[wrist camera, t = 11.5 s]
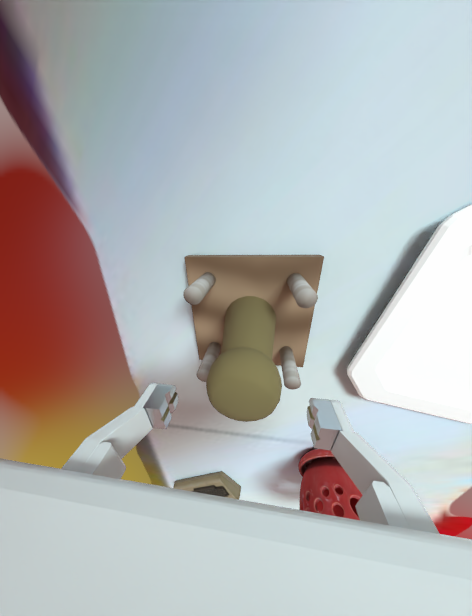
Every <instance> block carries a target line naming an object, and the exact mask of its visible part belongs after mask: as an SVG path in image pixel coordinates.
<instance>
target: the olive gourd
mask: <svg viewBox="0 0 472 616" xmlns="http://www.w3.org/2000/svg"><path fill="white" fill-rule="evenodd" d="M275 325H276V315H275V311H274V309H273V308H272V306H271V305H270V304H269V303H268V302H267V301H265V300H264V299H262V298H259V297H256V296H245V297H241V298H238V299H237V300H235V301H233V302H232V303H231V304H230V306H229V307H228V308H227V311H226V315H225V323H224V332H223V341H222V350H221V354H220V355H219V356H218V358H217V359H216V360H215V361H214V362H213V364H212V365H211V368H210V370H209V374H208V377H207V384H206V387H207V394H208V397H209V400H210V402H211V404H212V405H213V407H214V408H215V409H216V410H217V411H218V412H219V413H221V414H223V415H225V416H226V417H228V418H231V419H234V420H237V421H246V422H247V421H257V420H260V419H263V418H265V417H267V416H268V415H270V414H271V413H272V412H273V411H274V409H275V408H276V406H277V404H278V403H279V401H280V395H281V388H282V384H281V378H280V375H279V372H278V369H277V367H276V365H275V363H274V362H273V361H272V356H273V345H274V335H275Z"/></svg>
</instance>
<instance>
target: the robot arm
mask: <svg viewBox="0 0 472 616" xmlns="http://www.w3.org/2000/svg"><path fill="white" fill-rule="evenodd" d="M175 391H176V387H175V385H166V384H158V383H151V384H150V385H149V386H148V387H147V389H146V390H145V391H144V393H143V394H142V396H141V397H140V399H139V400H138V402H137V403H136V405H135V406H134V407H131V408H129V409H128V410H126V411H125V412H123V413H122V414H121V415H119V416H118V417H116V418H115V419H113V420H112V421H110V422H109V423H107V424H106V425H105V426H103V427H102V428H100V429H99V430H97V431H96V432H94V433H93V434H91V435H90V436H89V437H87V438H86V439H85V440H84V441H83V443H82V444H81V445H80V446H79V447H78V449H77V450H76V451H75V452H74V454H73V455H72V456H71V457H70V459H69V460H68V461H67V462H66V464H65V465H64V466H63V467H62V469H58V468H52V467H46V466H40V465H34V464H28V463H22V462H17V461H11V460H6V459H0V616H472V540H471V539H465V538H459V537H454V536H448V535H442V534H439V532H438V530H437V528H436V527H435V525H434V523H433V521H432V520H431V518H430V516H429V515H428V513H427V511H426V509H425V508H424V506H423V504H422V502H421V501H420V499H419V497H418V495H417V494H416V492H415V490H414V488H413V487H412V485H411V484H410V483H409V482H408V481H407V480H406V479H405V478H404V477H403V476H401V475H400V474H399V473H398V472H397V471H396V470H395V469H394V468H393V467H392V466H391V465H390V464H389V463H388V462H387V461H386V460H385V459H384V458H383V457H382V456H381V455H380V454H379V453H378V452H377V451H376V450H375V449H374V448H373V447H372V446H371V445H369V444H368V443H367V442H366V441H365V440H364V439H363V438H362V437H361V436H360V435H359V434H358V433H355V432H354V430H353V428H352V426H351V424H350V422H349V419H348V417H347V415H346V413H345V411H344V408H343V406H342V404H341V402H340V401H338V400H328V399H316V398H310V400H309V404H310V406H309V407H308V408H307V421H308V425H309V426H310V428H311V429H312V431H311V438H312V442H313V446H314V448H317V449H324V450H330V451H331V452H332V454H333V455H334V456H335V458H336V459H337V461H338V462H339V463H340V465H341V466H342V467H343V469H344V470H345V472H346V473H347V474H348V476H349V477H350V478H351V480H352V481H353V482H354V484H355V485H356V487H357V488H358V489H359V491H360V492H361V493H362V495H363V496H362V497H361V498H360V500H359V501H358V502H357V504H356V506H355V507H356V510H357V513H358V516H359V519H360V520H355V519H349V518H343V517H337V516H332V515H326V514H320V513H314V512H308V511H302V510H297V509H291V508H285V507H279V506H273V505H267V504H262V503H256V502H250V501H244V500H238V499H233V498H227V497H221V496H215V495H209V494H203V493H198V492H192V491H186V490H180V489H174V488H169V487H163V486H157V485H151V484H145V483H138V482H133V481H127V480H122V479H121V477H122V475H123V473H124V472H125V470H126V466H125V464H124V463H123V461H122V460H121V459H122V458H123V457H124V456H125V455H126V454H127V453H128V452H129V451H130V450H131V449H132V448H133V447H134V446H135V445H136V444H137V443H138V442H140V441H141V440H142V439H143V438H144V437H145V436H146V435H147V434H148V433H149V432H150V431H151V430H152V429H153V428H161V429H167V426H168V424H169V422H170V420H171V418H172V417H171V413H172V412H173V411H174V410H175V409H176V406H177V403H178V394H177V393H176V392H175Z"/></svg>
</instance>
